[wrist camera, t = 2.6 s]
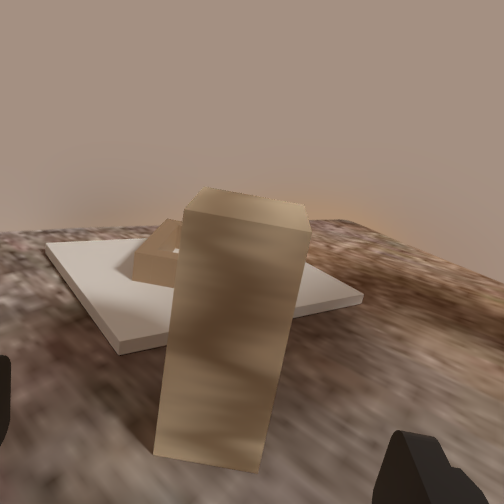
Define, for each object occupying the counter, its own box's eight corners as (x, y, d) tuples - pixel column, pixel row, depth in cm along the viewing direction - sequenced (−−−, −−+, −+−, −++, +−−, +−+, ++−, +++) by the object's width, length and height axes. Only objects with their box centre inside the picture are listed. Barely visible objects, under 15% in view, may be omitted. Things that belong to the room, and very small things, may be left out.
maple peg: (260, 405, 26) (304, 204, 22) (257, 473, 21) (312, 232, 17) (175, 390, 26) (204, 186, 22) (153, 455, 21) (184, 209, 17)
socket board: (250, 240, 55) (255, 213, 54) (361, 303, 42) (370, 269, 41) (45, 253, 41) (46, 216, 40) (118, 355, 28) (122, 305, 27)
